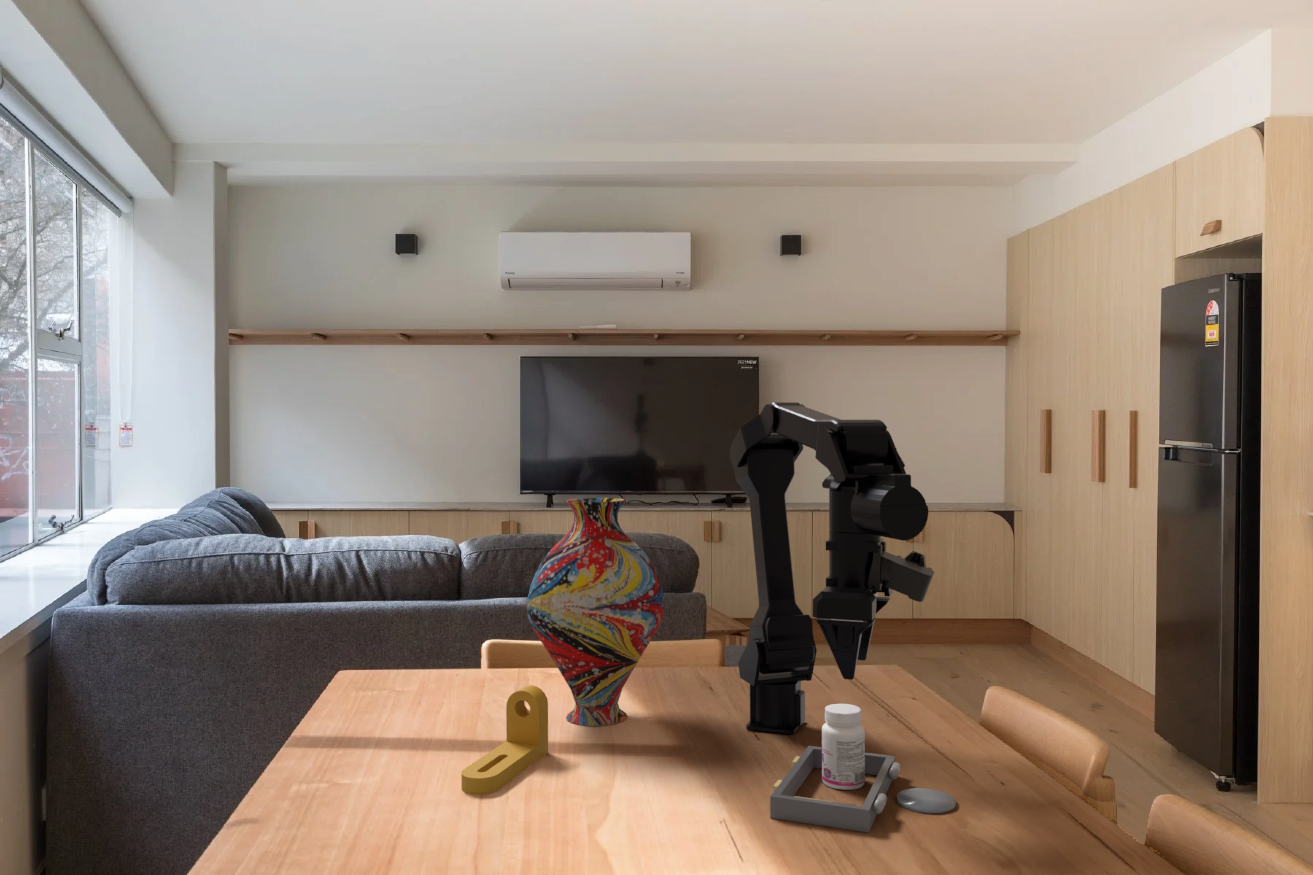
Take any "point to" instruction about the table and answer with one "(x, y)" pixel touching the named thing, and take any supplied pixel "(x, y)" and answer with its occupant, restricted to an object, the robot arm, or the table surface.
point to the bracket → (512, 744)
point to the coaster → (926, 800)
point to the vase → (596, 608)
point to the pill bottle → (843, 747)
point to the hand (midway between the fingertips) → (855, 669)
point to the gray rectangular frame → (831, 812)
